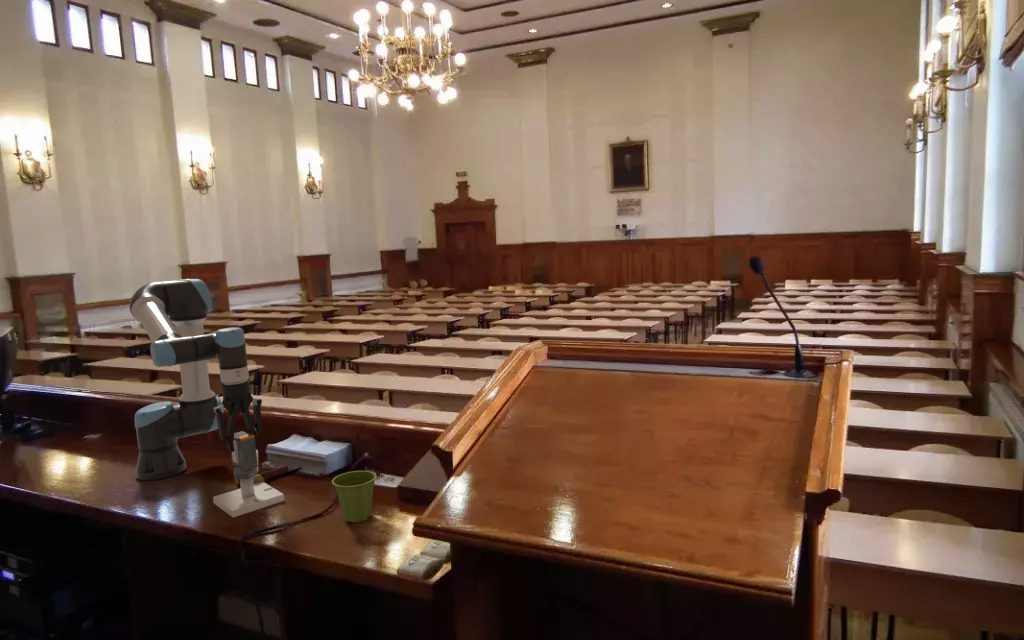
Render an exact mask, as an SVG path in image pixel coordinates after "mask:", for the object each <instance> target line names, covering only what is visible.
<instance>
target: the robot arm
mask: <svg viewBox="0 0 1024 640" xmlns="http://www.w3.org/2000/svg"><path fill="white" fill-rule="evenodd" d="M210 293H211V292H210V290H209V288H208V286H207V284H206V282H204V281H203V280H202V279H200V278H185V279H184V278H183V279H175V280H166V281H165V280H164V281H153V282H149V283H147V284H145V285H142V286H141V287H139V288H138V289H137V290H136V291H135V293H134V294H133V295H131V296H132V297H131V299H130V300H129V306H128V307H129V312H130V315H131V316H132V317H133V319H134V320H135V321H136V322H137V323H140V325H142V327H143V328H144V331H145V332H146V333H147V335H148V337H149V339H150V341H151V344H150V347H149V348H150V356H151V360H152V363H153V365H154V366H155V367H158V368H160V367H161V368H163V367H173V366H177V365H179V370H180V371H179V372H180V379H181V389H182V393H181V395H180V396H179V397H178V403H177V404H173V402H172V401H168V400H167V401H166V400H165V401H162V402H160V401H159V402H155V403H152V404H148V405H146V406H144V407H142V408H139V409H138V410H137V411H136V412H135V414H134V428H135V430H136V439H137V448H138V458H137V462H136V463H137V464H136V468H135V476H136V479H137V480H140V481H155V480H156V481H157V480H163V479H166V478H170V477H173V476H176V475H178V474H181V473H182V472H185V470H186V469H187V463H186V459H185V457H184V455H183V453H182V452H181V450H180V447H179V446H178V439H182V438H186V437H190V436H195V435H196V436H197V435H200V434H208V433H209V432H212V431H216V430H218V436H219V439H220V440H222V442H226V443H227V450H228V452H230V453H231V452H232V457H233V461H234V462H235V463H239V457H238V449H237V441H236V440H234V433H235V431H236V419H237V418H238V417H237V416H238V415H239V414H242V417H243V420H244V422H245V425H246V428H247V430H248V431H247V432H248V434H253V435H254V437H255V446H256V447H257V445H258V442H257V436H258V434H259V433H262V431H263V426H262V425H263V424H262V409H261V407H262V403H263V400H262V399H261V398H259V397H253V396H252V393H251V384H250V382H251V381H249V379H250V375H249V366H248V357H247V346H246V337H245V332H244V329H243V328H242V327H234V326H233V327H226V328H221V329H218V330H216V331H212V332H210V333H206V334H205V332H204V331H205V330H204V322H205V321H206V320H207V318H208V313H210V312H211V311H212V310H213V302H212V298H211V294H210ZM216 359H217V360H218V366H219V375H220V376H219V377H220V383H222V384H221V386H220V387H221V392H222V393H221V394H222V399H221V398H220V397H219V396H216V393H215V392H214V391H213V390H212V389H211V388H210V377H209V376H210V375H209V369H208V368H209V367H208V361H209V360H216ZM251 405H252V406H253V407H252V408H253V411H252V412H253V419H252V416H251V412H250V410H249V409H250V406H251ZM224 409H225V410H226V411H227V416H228V417H227V429H226V423H225V417H224V411H225V410H224ZM253 421H254V422H253Z"/></svg>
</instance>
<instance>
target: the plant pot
mask: <svg viewBox="0 0 1024 640" xmlns="http://www.w3.org/2000/svg"><path fill="white" fill-rule="evenodd" d="M377 477H378V476H377V474H376V473H375V472H373V471H370V470H356V471H355V470H353V471H347V472H345V473H341V474H338V475H336V476H334V478H332V480H331V484H332V485H333V486H334V488H335V491H336V494H337V497H338V500H339V501H338V502H339V505H340V509H341V512H342V517H343V520H344V521H345V522H346V523H348V522H350V523H356V524H357V523H359V522H364V521H366V520H368V519H369V518H371V516H372V508H373V507H372V506H373V505H372V504H373V493H374V487H375V480H376V479H377Z"/></svg>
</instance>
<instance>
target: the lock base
mask: <svg viewBox="0 0 1024 640" xmlns="http://www.w3.org/2000/svg"><path fill="white" fill-rule="evenodd" d="M239 485H240V488H238V489H235V490H232V491H227V492H225V493H221V494H218V495H215V496H213V497H212V500H213V504H214V505H215V506H217V508H219V509H220V510H222V511H224V513H226V514H227V515H229V516H230V517H231V518H236V517H238V516H242V515H245V514H247V513H248V514H249V513H251V512H254V511H257V510H260V509H263V508H266V507H269V506H272V505H275V504H278V503H281V502H284V501H285V495H284V493H282V491H281V492H280V491H279V490H278V489H276V488H274V487H272V486H271V485H269V484H268V483H266V482H265V483H264V482H260V483H257V484H254V483H253V477H251V478H247V479H240V484H239Z"/></svg>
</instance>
